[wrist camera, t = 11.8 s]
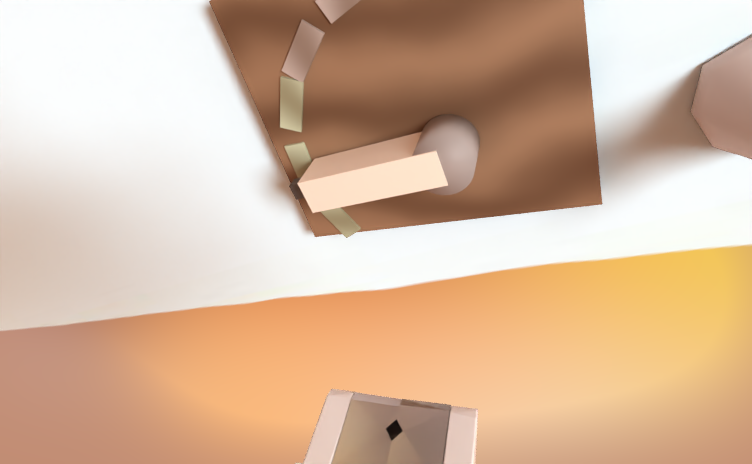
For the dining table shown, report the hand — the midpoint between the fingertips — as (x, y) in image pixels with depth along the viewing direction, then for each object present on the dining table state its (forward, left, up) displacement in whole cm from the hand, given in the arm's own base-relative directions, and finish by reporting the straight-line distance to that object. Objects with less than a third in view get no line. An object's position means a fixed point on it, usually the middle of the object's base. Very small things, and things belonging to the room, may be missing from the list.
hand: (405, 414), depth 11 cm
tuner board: (+3, -6, -27) cm, 28 cm away
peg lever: (+7, -9, -26) cm, 28 cm away
